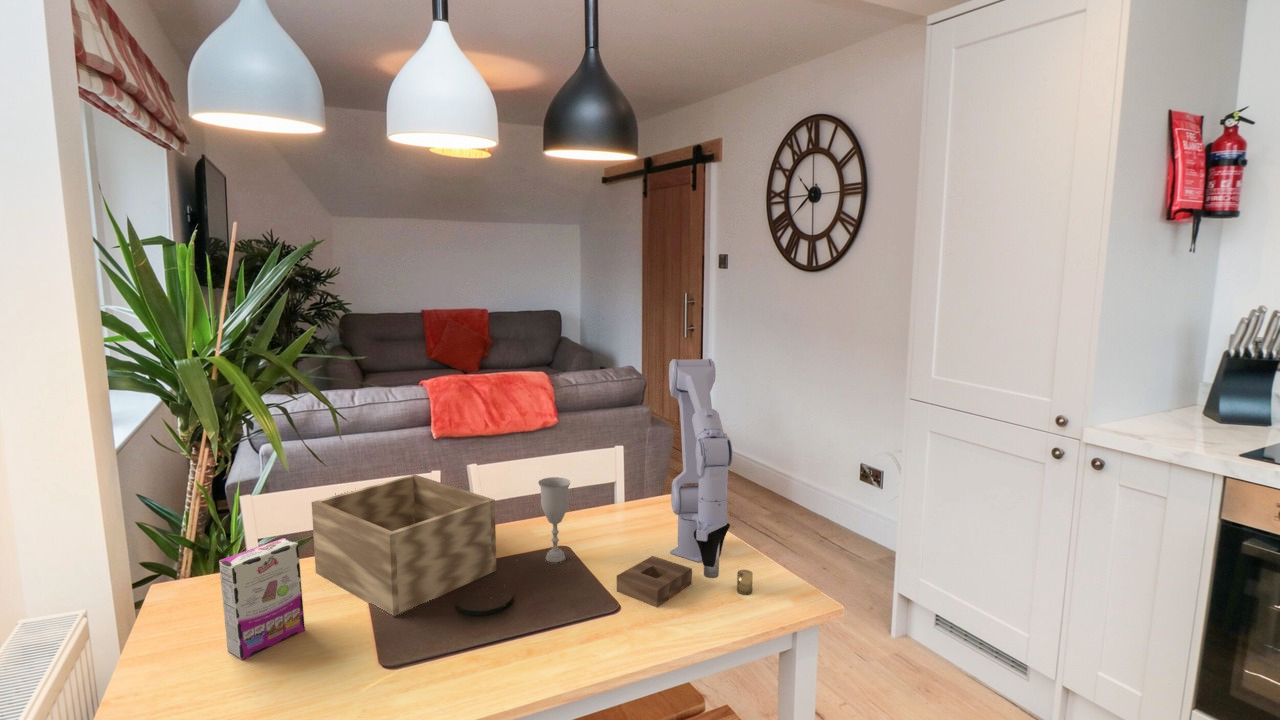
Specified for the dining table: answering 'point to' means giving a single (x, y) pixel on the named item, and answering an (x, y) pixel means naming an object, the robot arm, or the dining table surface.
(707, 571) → the steel pin
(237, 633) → the candy bar box
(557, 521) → the chalice
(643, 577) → the walnut block
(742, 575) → the brass pin
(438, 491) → the wooden crate
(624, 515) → the dining table surface
